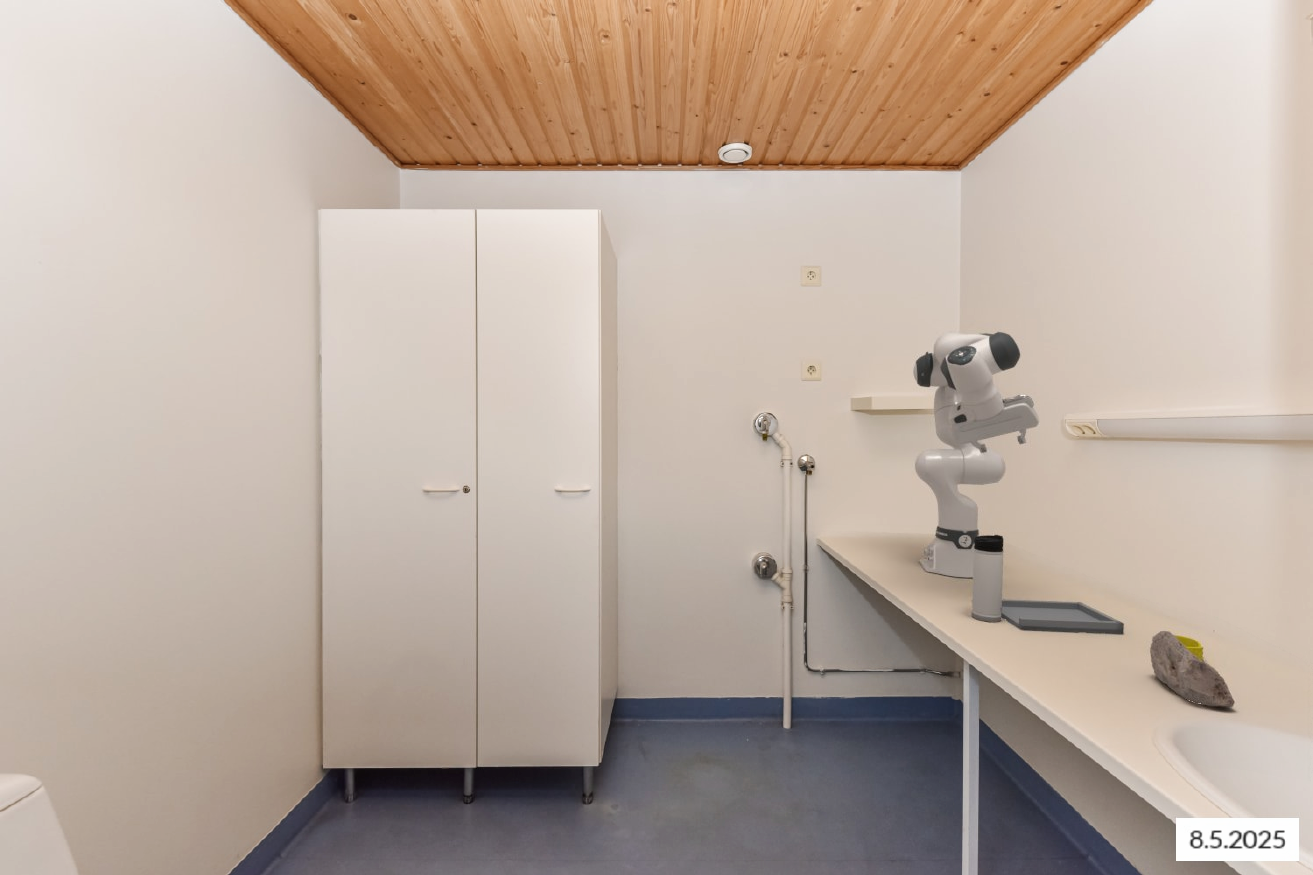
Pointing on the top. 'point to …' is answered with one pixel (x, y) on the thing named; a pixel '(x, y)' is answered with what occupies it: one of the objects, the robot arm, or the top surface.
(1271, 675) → the top surface
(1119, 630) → the slate tray
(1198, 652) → the bracelet
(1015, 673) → the top surface
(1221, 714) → the top surface
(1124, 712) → the top surface
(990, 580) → the travel mug
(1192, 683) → the pumice stone
